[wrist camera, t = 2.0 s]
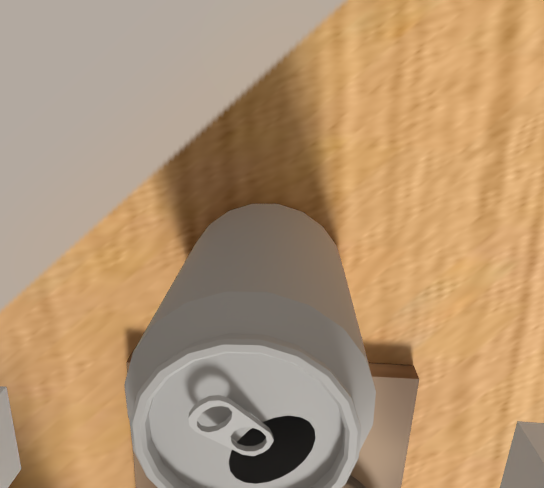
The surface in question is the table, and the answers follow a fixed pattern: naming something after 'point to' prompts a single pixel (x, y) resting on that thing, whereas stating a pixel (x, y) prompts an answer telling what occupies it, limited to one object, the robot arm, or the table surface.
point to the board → (383, 435)
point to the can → (253, 362)
